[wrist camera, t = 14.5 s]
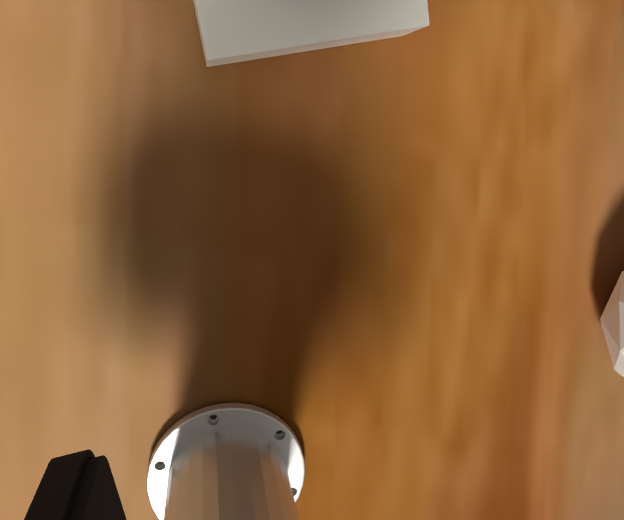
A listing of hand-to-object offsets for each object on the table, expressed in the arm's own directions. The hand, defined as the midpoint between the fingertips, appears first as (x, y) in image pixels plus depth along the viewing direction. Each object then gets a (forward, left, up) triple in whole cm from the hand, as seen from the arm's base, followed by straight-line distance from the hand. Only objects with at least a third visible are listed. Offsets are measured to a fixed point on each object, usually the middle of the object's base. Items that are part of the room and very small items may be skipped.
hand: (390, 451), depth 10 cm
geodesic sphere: (-16, -32, -32) cm, 48 cm away
